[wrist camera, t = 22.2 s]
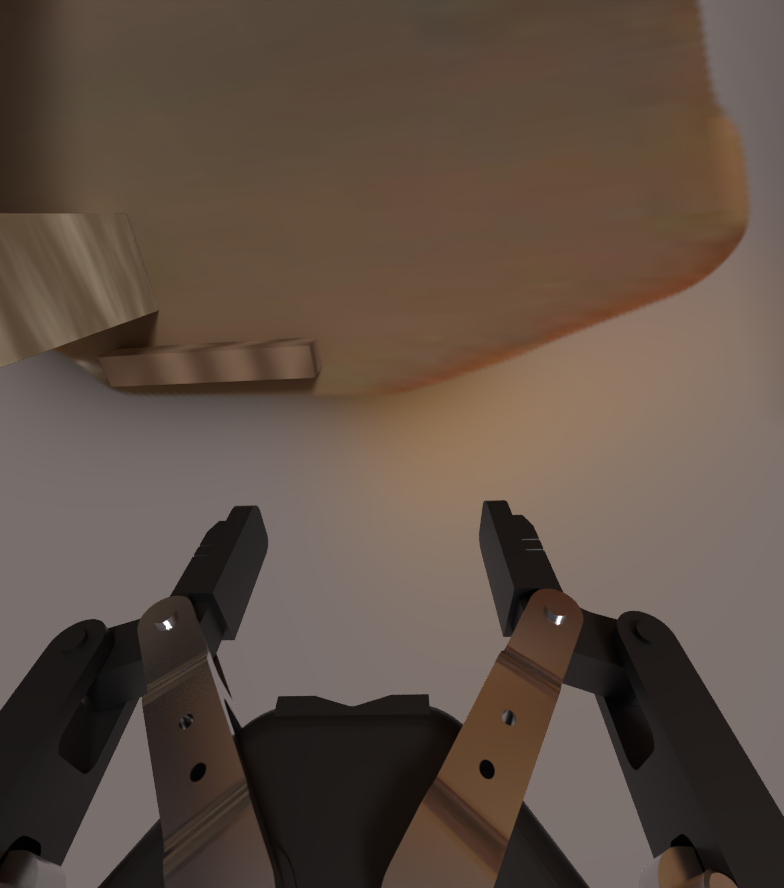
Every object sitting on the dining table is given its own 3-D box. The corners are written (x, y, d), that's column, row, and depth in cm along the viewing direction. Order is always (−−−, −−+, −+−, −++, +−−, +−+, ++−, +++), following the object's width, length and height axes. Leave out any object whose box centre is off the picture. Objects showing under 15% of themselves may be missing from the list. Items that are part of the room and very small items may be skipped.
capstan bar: (317, 336, 41) (309, 345, 38) (322, 366, 43) (315, 377, 40) (118, 347, 44) (96, 357, 41) (131, 375, 45) (111, 387, 42)
